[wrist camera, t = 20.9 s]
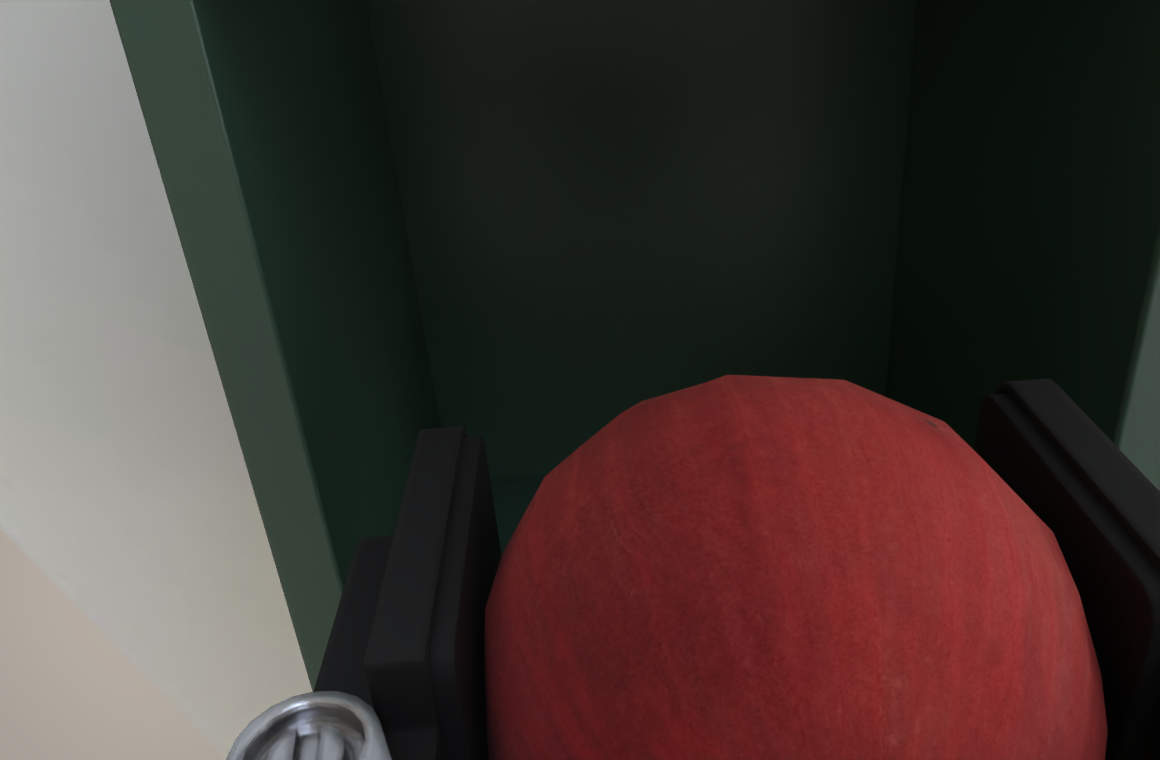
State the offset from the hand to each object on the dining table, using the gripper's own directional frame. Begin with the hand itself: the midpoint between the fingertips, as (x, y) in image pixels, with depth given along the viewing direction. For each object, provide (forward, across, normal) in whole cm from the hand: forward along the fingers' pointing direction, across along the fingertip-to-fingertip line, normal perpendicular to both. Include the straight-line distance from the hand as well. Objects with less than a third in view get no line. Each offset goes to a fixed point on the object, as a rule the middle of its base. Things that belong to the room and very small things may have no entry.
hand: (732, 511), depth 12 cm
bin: (+12, 0, 0) cm, 12 cm away
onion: (+1, 0, 0) cm, 1 cm away
